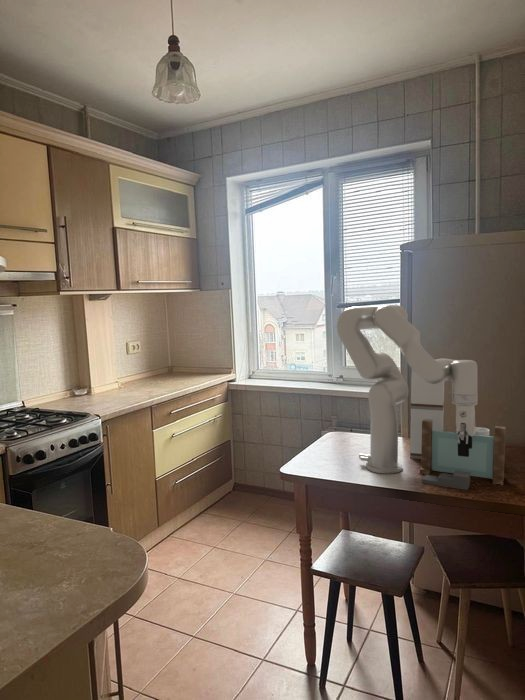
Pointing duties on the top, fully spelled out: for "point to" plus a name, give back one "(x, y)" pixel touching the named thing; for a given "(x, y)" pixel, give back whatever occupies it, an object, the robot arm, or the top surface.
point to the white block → (424, 410)
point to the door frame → (498, 451)
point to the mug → (482, 431)
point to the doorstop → (450, 480)
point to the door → (449, 460)
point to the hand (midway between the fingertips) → (465, 452)
